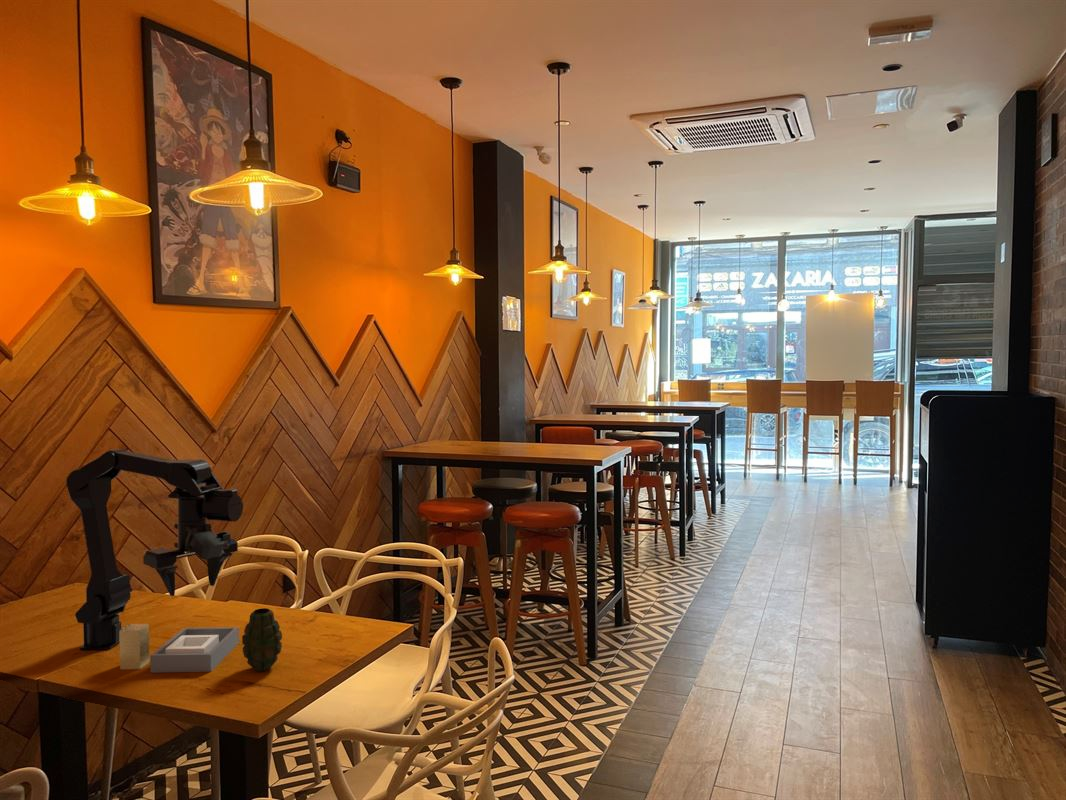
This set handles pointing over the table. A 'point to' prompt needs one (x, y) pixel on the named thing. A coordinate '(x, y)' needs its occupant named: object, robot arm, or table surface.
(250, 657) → the grenade
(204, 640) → the walled frame
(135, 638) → the peg
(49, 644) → the table surface
